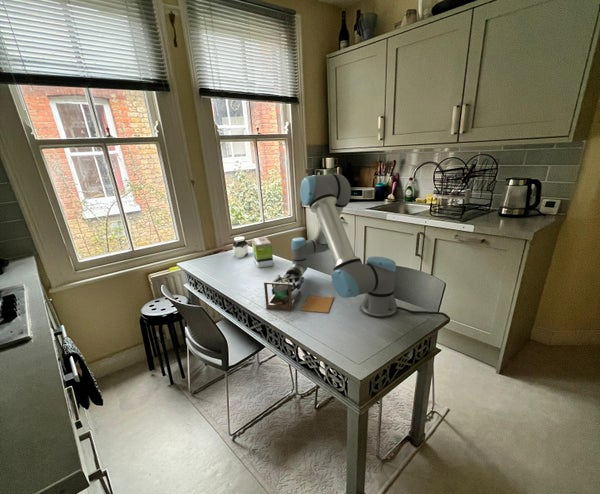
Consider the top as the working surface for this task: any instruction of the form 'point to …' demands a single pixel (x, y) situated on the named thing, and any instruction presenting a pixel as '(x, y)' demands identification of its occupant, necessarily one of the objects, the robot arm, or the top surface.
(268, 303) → the rack
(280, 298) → the food container
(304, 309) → the cork mat
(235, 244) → the spread jar
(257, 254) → the tea box
